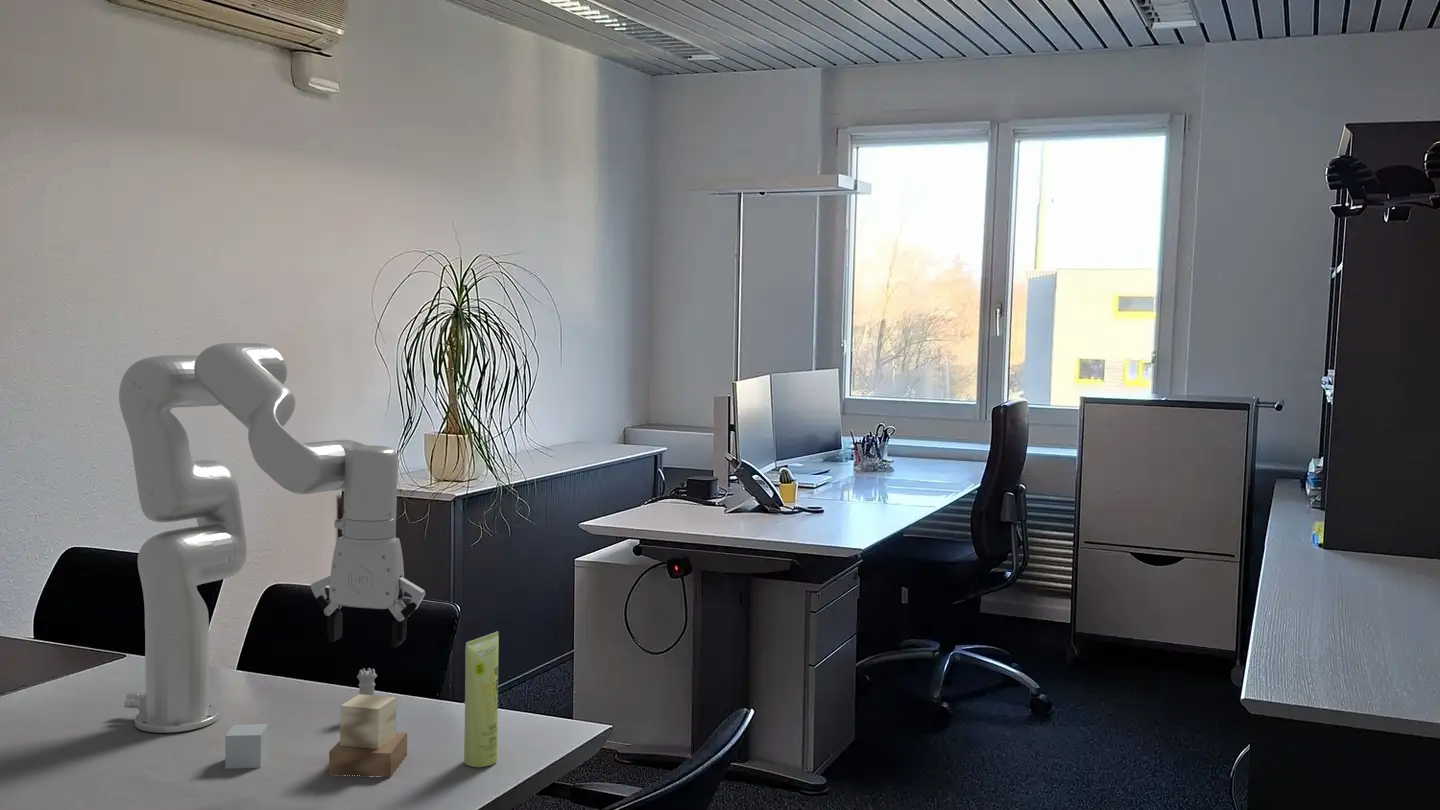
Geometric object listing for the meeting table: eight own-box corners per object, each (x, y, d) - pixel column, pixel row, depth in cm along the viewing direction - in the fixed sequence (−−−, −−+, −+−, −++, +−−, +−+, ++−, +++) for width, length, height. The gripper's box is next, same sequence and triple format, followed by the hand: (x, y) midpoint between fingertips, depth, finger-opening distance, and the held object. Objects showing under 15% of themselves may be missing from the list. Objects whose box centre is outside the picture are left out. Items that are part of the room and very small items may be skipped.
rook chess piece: (372, 722, 200) (372, 675, 199) (347, 720, 200) (348, 672, 200) (385, 714, 204) (385, 667, 203) (360, 711, 205) (361, 665, 204)
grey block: (225, 769, 178) (225, 735, 177) (234, 757, 182) (234, 724, 182) (260, 768, 178) (260, 735, 178) (268, 756, 183) (268, 724, 183)
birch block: (340, 745, 178) (340, 705, 178) (358, 732, 184) (359, 694, 184) (378, 749, 177) (378, 709, 177) (395, 736, 183) (396, 697, 183)
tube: (498, 768, 180) (500, 640, 179) (463, 770, 179) (465, 641, 178) (496, 755, 186) (498, 631, 185) (463, 757, 185) (464, 632, 184)
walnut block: (329, 778, 176) (329, 751, 176) (348, 756, 185) (348, 731, 185) (390, 780, 176) (390, 753, 176) (406, 758, 185) (407, 732, 184)
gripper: (302, 529, 175) (299, 644, 177) (416, 537, 174) (413, 654, 175) (324, 521, 183) (322, 631, 184) (434, 529, 181) (431, 640, 182)
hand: (366, 642), depth 179 cm, fingers open, 9 cm apart
